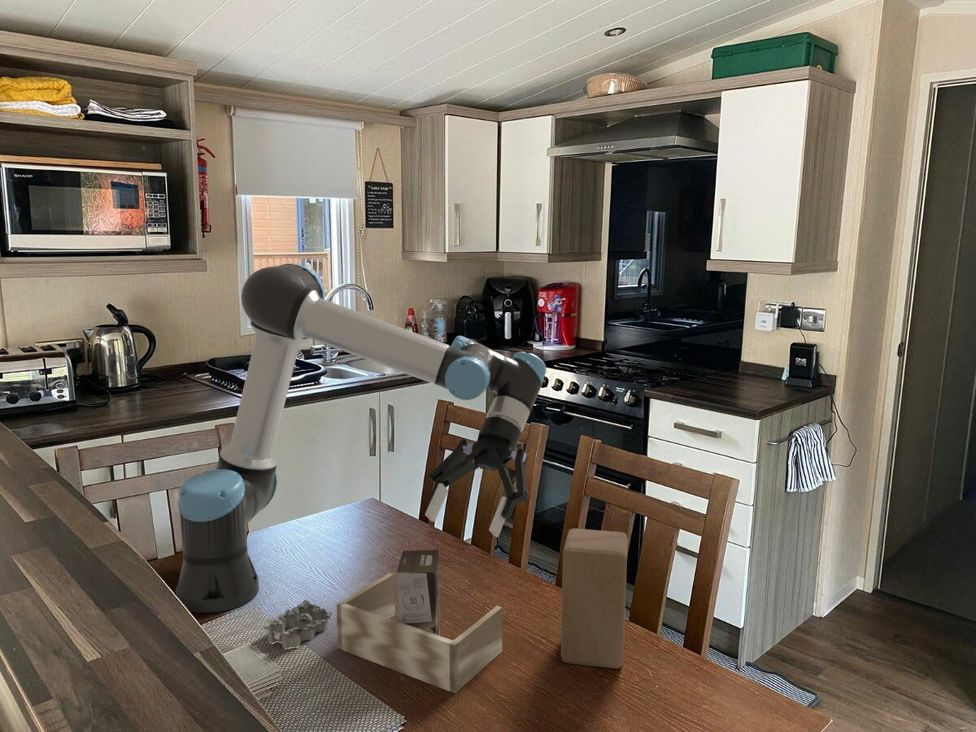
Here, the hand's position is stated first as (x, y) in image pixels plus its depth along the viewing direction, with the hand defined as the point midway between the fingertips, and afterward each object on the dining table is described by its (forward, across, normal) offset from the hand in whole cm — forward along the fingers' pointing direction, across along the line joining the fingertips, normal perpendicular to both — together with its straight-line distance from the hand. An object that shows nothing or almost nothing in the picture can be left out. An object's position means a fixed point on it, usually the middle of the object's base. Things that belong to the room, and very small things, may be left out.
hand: (460, 526), depth 135 cm
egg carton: (+26, +22, 0) cm, 34 cm away
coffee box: (+21, 0, -4) cm, 22 cm away
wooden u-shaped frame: (+21, 0, -4) cm, 22 cm away
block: (+11, -25, -15) cm, 31 cm away
